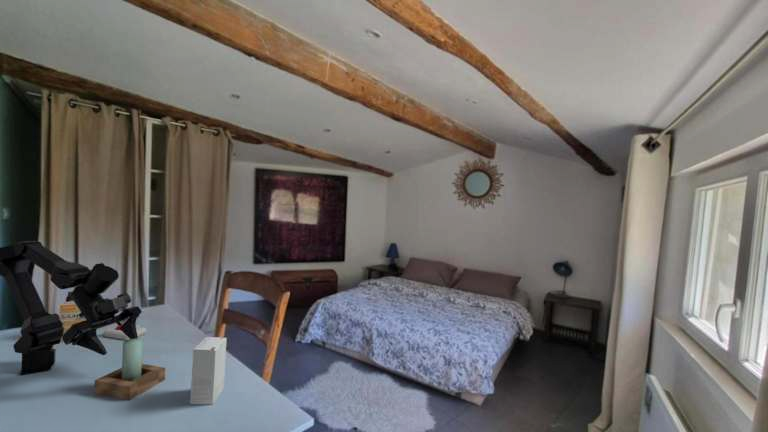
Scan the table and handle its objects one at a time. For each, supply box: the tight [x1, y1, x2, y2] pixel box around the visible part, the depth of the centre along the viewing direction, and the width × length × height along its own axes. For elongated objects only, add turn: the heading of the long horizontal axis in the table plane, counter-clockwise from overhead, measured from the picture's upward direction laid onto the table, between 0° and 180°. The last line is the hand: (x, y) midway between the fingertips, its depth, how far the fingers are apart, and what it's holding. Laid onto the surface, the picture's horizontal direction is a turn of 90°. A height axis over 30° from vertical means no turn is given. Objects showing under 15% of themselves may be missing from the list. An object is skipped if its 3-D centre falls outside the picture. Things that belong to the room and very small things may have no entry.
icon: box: [103, 324, 148, 341], centre depth 132 cm, size 12×4×10 cm
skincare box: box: [189, 336, 228, 405], centre depth 93 cm, size 8×6×15 cm
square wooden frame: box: [93, 363, 166, 401], centre depth 96 cm, size 11×11×4 cm
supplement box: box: [58, 301, 86, 342], centre depth 126 cm, size 8×5×13 cm, turn 123°
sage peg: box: [121, 338, 144, 381], centre depth 96 cm, size 4×4×12 cm
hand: (121, 347), depth 97 cm, fingers open, 9 cm apart
